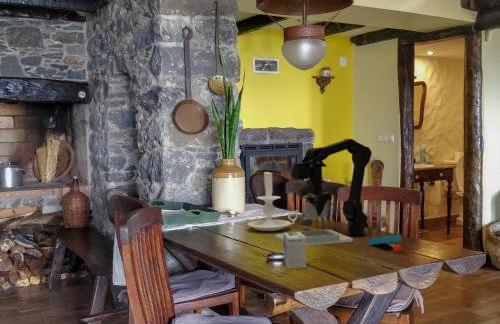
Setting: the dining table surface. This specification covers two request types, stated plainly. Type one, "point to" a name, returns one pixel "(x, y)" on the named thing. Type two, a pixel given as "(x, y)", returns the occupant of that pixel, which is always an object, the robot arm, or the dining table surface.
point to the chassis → (321, 237)
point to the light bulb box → (294, 250)
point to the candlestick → (270, 210)
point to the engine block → (314, 211)
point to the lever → (388, 240)
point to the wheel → (305, 221)
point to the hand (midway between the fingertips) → (316, 214)
